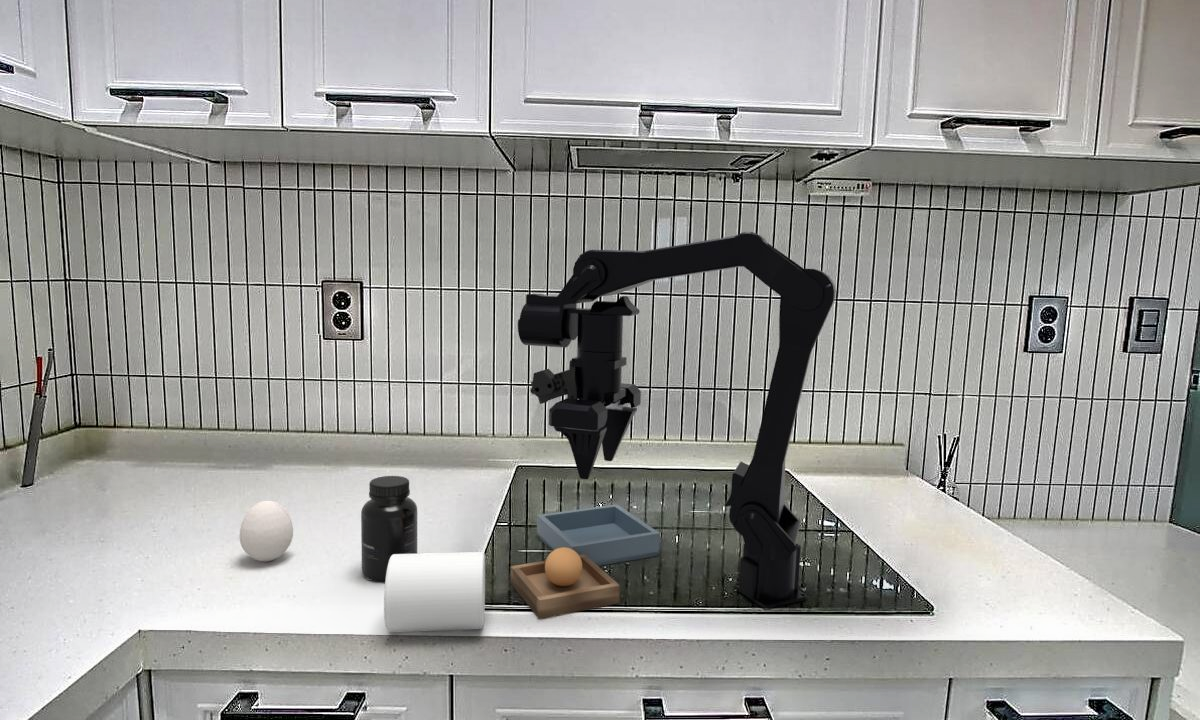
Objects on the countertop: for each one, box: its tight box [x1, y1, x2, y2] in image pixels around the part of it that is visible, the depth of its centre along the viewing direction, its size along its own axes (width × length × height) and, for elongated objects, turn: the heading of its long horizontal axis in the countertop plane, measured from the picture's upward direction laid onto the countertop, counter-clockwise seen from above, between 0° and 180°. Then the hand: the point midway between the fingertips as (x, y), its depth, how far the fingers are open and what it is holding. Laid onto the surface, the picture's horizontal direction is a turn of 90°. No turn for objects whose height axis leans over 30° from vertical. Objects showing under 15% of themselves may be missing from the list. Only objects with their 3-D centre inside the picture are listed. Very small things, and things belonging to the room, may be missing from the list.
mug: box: [383, 551, 486, 633], centre depth 80 cm, size 12×10×8 cm
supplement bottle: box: [360, 475, 418, 583], centre depth 91 cm, size 7×7×12 cm
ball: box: [545, 547, 582, 586], centre depth 87 cm, size 4×4×4 cm
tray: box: [510, 554, 621, 620], centre depth 87 cm, size 10×10×2 cm
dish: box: [536, 503, 661, 567], centre depth 102 cm, size 13×13×3 cm
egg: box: [239, 500, 294, 562], centre depth 94 cm, size 6×6×8 cm
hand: (596, 469), depth 94 cm, fingers open, 9 cm apart
